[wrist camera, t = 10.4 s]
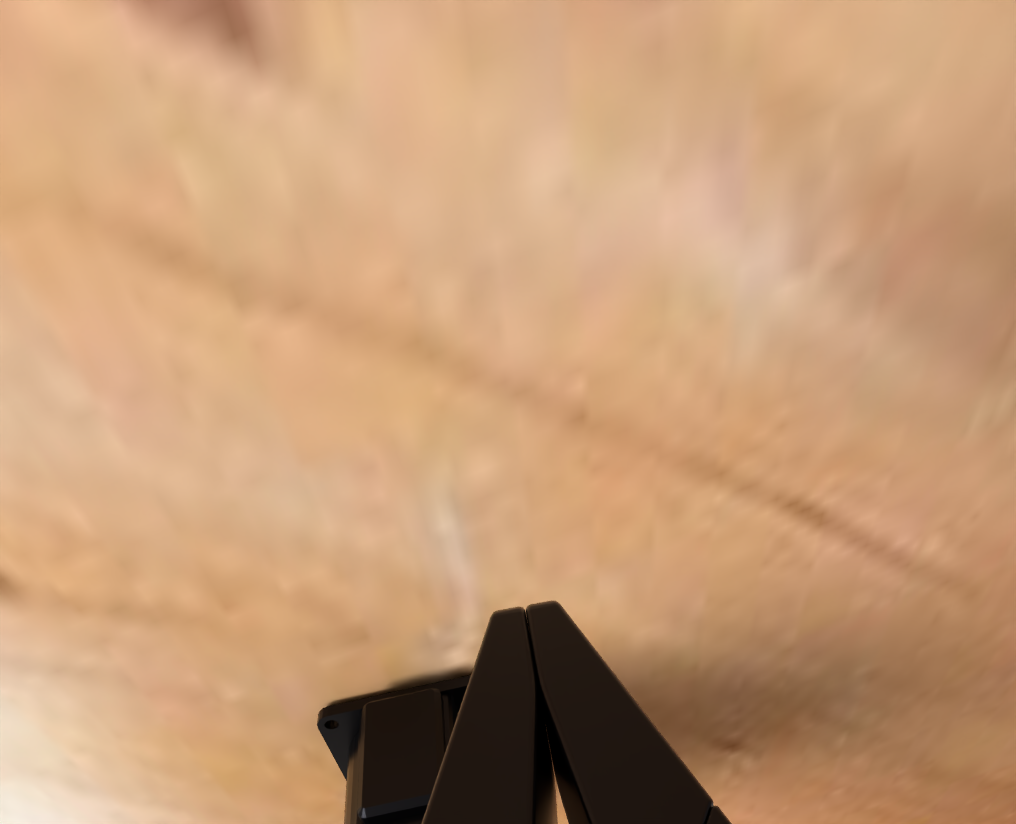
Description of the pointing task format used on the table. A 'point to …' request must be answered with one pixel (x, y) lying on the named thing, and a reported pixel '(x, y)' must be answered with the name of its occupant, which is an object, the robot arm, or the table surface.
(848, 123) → the table surface
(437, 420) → the table surface
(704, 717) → the table surface
